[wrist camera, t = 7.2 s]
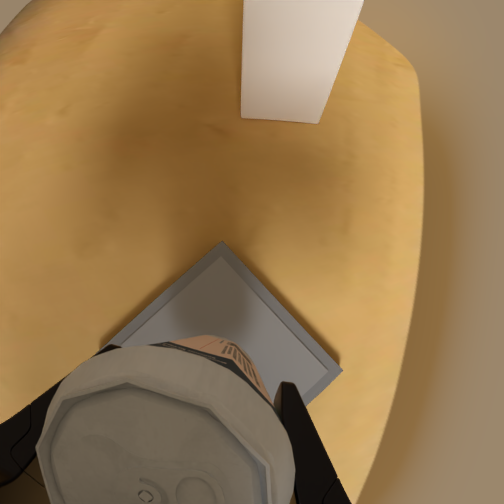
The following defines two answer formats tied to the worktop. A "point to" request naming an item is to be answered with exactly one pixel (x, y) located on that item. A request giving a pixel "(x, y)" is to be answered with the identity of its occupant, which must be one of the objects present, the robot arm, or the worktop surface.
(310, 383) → the trivet
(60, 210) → the worktop surface
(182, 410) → the beer can
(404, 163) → the worktop surface
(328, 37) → the milk
